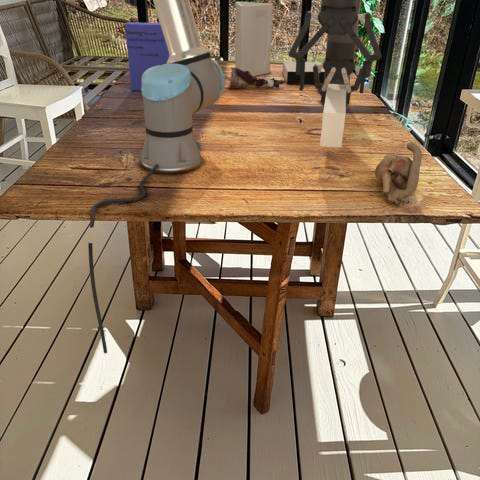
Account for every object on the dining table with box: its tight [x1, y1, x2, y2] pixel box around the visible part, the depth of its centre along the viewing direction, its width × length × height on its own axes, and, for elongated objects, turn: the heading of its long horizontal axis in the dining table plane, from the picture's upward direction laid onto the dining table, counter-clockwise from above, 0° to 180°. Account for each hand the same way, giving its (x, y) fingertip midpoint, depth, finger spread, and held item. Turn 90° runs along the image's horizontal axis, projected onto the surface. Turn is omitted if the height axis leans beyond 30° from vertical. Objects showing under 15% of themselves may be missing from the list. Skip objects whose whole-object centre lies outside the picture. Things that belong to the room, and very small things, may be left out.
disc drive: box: [281, 61, 325, 85], centre depth 207 cm, size 18×22×5 cm
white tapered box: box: [234, 1, 274, 77], centre depth 210 cm, size 19×15×28 cm
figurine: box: [224, 66, 287, 89], centre depth 190 cm, size 24×8×30 cm
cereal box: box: [124, 21, 170, 92], centre depth 181 cm, size 17×5×24 cm, turn 86°
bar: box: [319, 84, 347, 149], centre depth 123 cm, size 28×5×8 cm, turn 169°
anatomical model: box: [374, 141, 423, 205], centre depth 107 cm, size 13×9×15 cm
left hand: (331, 90), depth 110 cm, fingers open, 13 cm apart
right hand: (334, 104), depth 131 cm, fingers closed on bar, 5 cm apart
